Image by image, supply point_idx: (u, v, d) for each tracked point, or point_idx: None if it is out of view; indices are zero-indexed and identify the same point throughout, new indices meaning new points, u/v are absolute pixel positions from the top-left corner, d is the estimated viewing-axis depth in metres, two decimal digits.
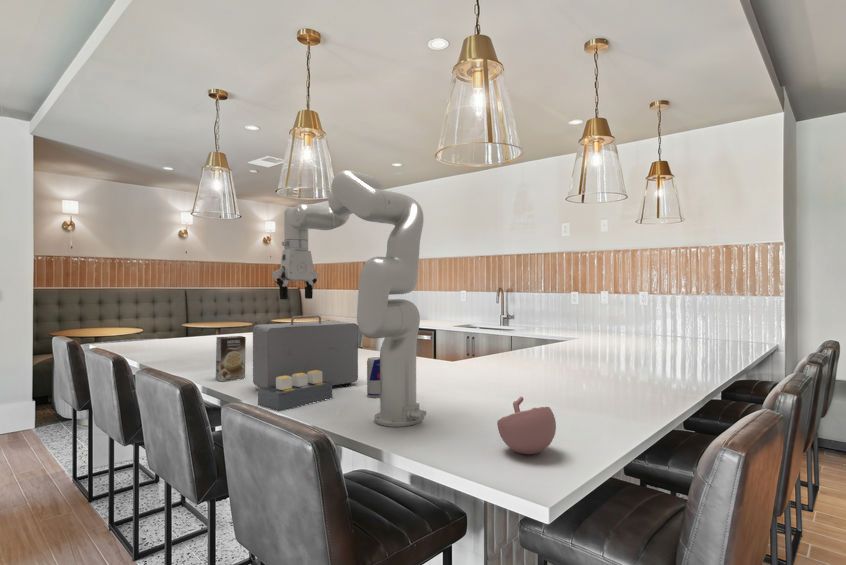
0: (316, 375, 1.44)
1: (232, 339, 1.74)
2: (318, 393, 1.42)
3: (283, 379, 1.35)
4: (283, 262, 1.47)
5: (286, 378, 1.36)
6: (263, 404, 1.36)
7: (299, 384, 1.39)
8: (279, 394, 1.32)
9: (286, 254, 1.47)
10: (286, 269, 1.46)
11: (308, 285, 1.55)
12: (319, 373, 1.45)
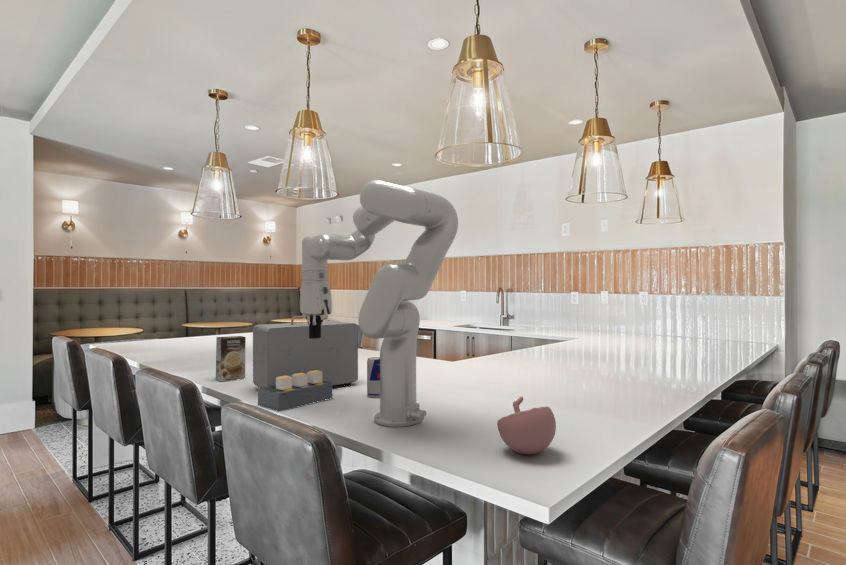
0: (316, 375, 1.44)
1: (232, 339, 1.74)
2: (318, 393, 1.42)
3: (283, 379, 1.35)
4: (325, 295, 1.38)
5: (286, 378, 1.36)
6: (263, 404, 1.36)
7: (299, 384, 1.39)
8: (279, 394, 1.32)
9: (328, 287, 1.39)
10: (330, 303, 1.39)
11: None
12: (319, 373, 1.45)
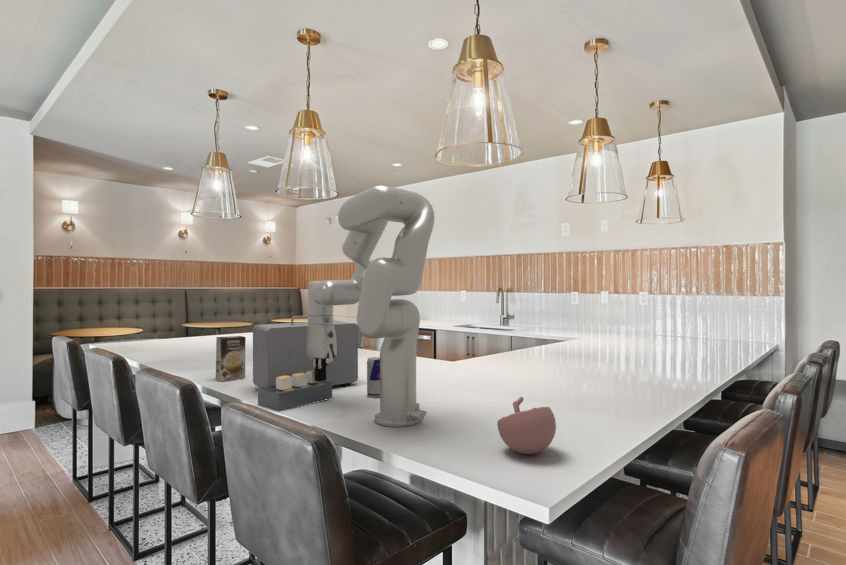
0: None
1: (232, 339, 1.74)
2: (318, 393, 1.42)
3: (283, 379, 1.35)
4: (330, 339, 1.40)
5: (286, 378, 1.36)
6: (263, 404, 1.36)
7: (299, 384, 1.39)
8: (279, 394, 1.32)
9: (333, 331, 1.41)
10: (335, 346, 1.41)
11: None
12: None
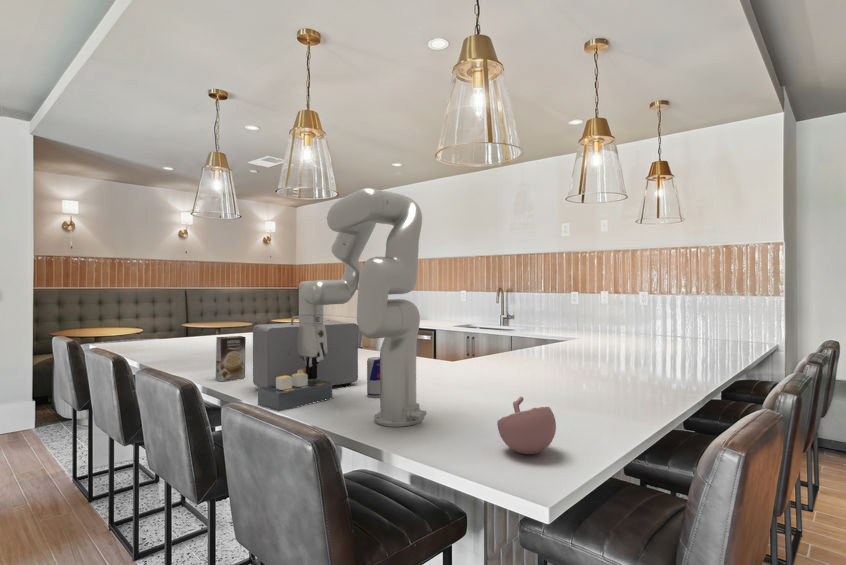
0: None
1: (232, 339, 1.74)
2: (318, 393, 1.42)
3: (283, 379, 1.35)
4: (321, 338, 1.43)
5: (286, 378, 1.36)
6: (263, 404, 1.36)
7: (299, 384, 1.39)
8: (279, 394, 1.32)
9: (323, 330, 1.44)
10: (325, 345, 1.44)
11: None
12: None
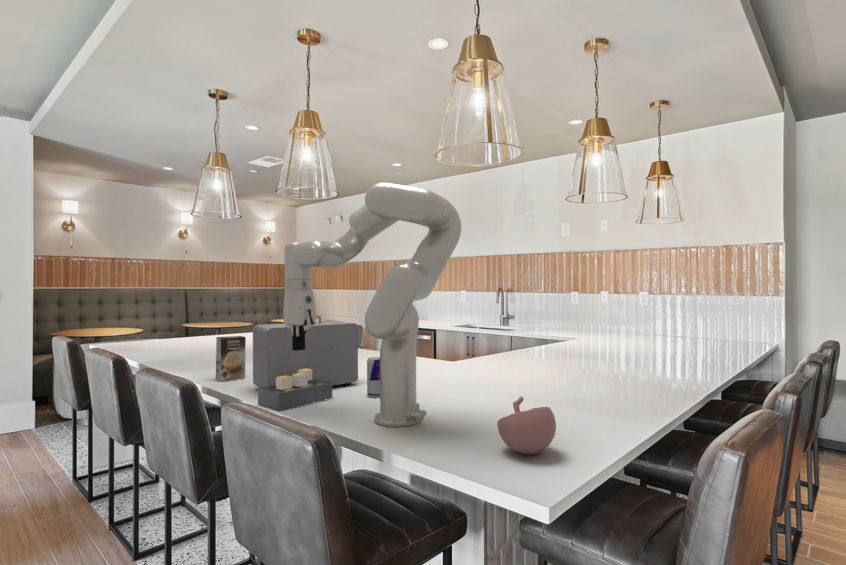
0: (307, 373, 1.47)
1: (232, 339, 1.74)
2: (318, 393, 1.42)
3: (283, 379, 1.35)
4: (308, 305, 1.30)
5: (286, 378, 1.36)
6: (263, 404, 1.36)
7: (299, 384, 1.39)
8: (279, 394, 1.32)
9: (311, 296, 1.31)
10: (313, 313, 1.31)
11: None
12: (309, 371, 1.48)
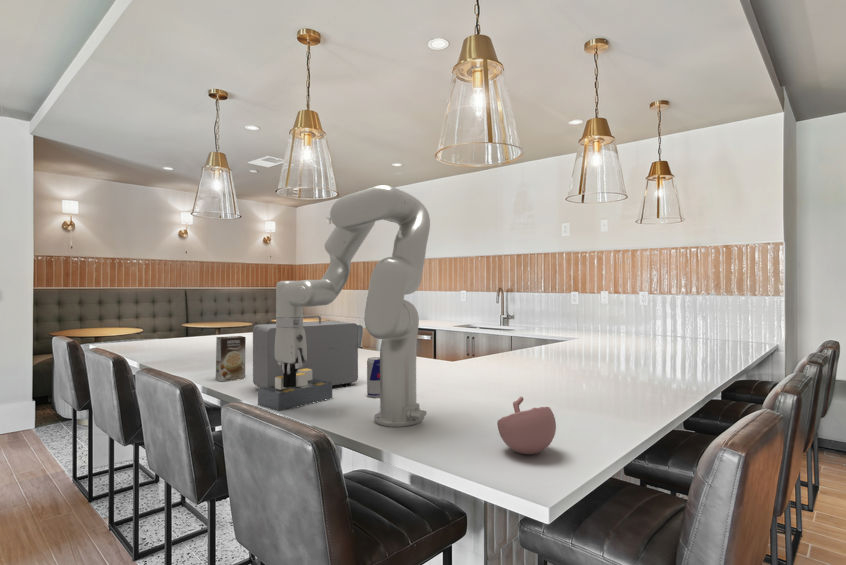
0: (307, 373, 1.47)
1: (232, 339, 1.74)
2: (318, 393, 1.42)
3: (282, 379, 1.35)
4: (299, 343, 1.32)
5: None
6: (263, 404, 1.36)
7: (299, 384, 1.39)
8: (279, 394, 1.32)
9: (303, 334, 1.33)
10: (305, 351, 1.33)
11: None
12: (309, 371, 1.48)
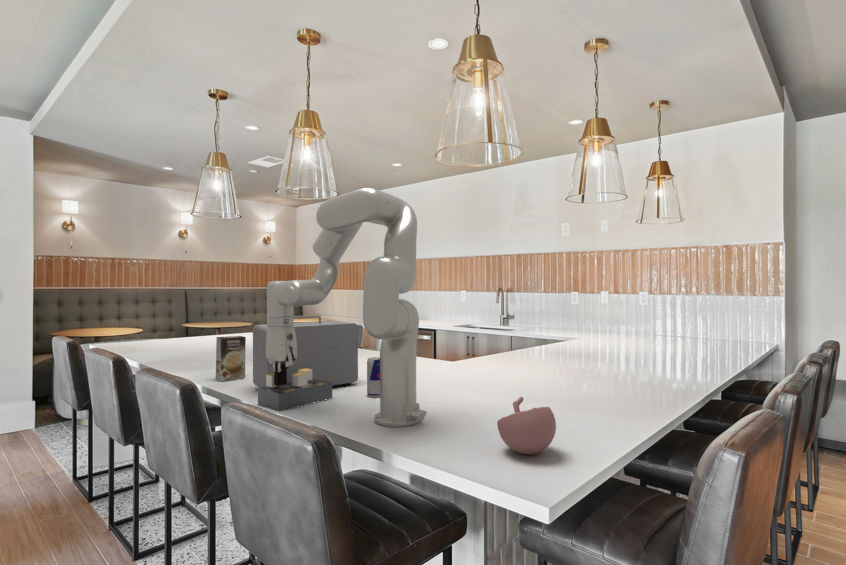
0: (307, 373, 1.47)
1: (232, 339, 1.74)
2: (318, 393, 1.42)
3: (273, 377, 1.38)
4: (290, 342, 1.35)
5: None
6: (263, 404, 1.36)
7: (299, 384, 1.39)
8: (279, 394, 1.32)
9: (293, 333, 1.36)
10: (295, 349, 1.36)
11: None
12: (309, 371, 1.48)
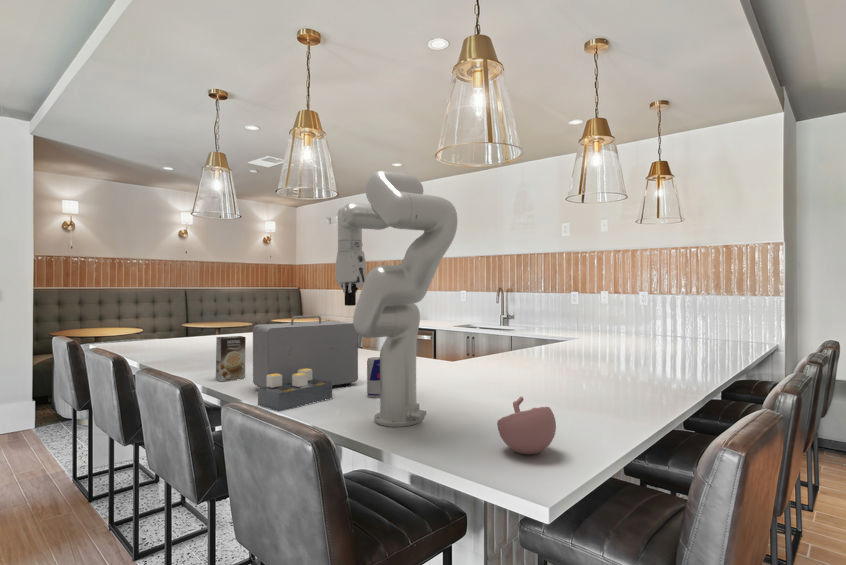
0: (307, 373, 1.47)
1: (232, 339, 1.74)
2: (318, 393, 1.42)
3: (273, 377, 1.38)
4: (360, 263, 1.43)
5: (276, 376, 1.39)
6: (263, 404, 1.36)
7: (299, 384, 1.39)
8: (279, 394, 1.32)
9: (363, 256, 1.44)
10: (364, 271, 1.45)
11: None
12: (309, 371, 1.48)
